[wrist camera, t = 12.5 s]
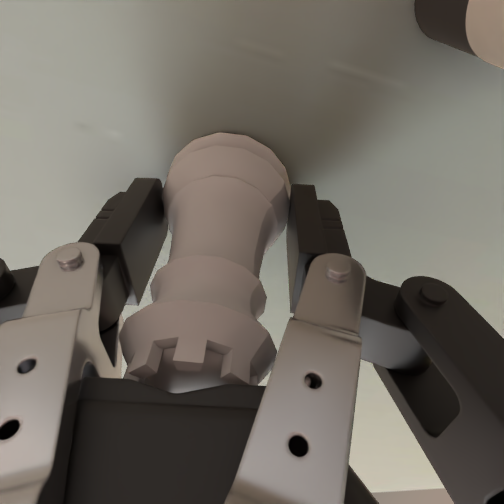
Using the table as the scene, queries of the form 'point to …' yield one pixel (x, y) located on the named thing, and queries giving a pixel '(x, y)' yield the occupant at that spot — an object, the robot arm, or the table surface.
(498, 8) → the marker
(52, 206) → the table surface
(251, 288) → the rook chess piece
